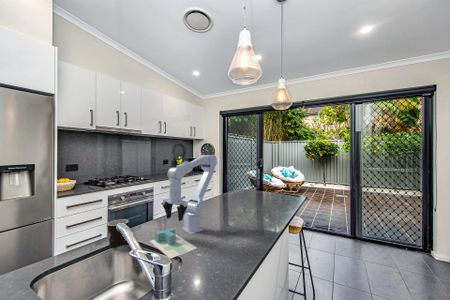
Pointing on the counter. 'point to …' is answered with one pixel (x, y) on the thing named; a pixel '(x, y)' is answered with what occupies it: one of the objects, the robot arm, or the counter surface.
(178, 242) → the mat
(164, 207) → the robot arm
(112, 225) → the coffee mug
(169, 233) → the tee block
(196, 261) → the counter surface
